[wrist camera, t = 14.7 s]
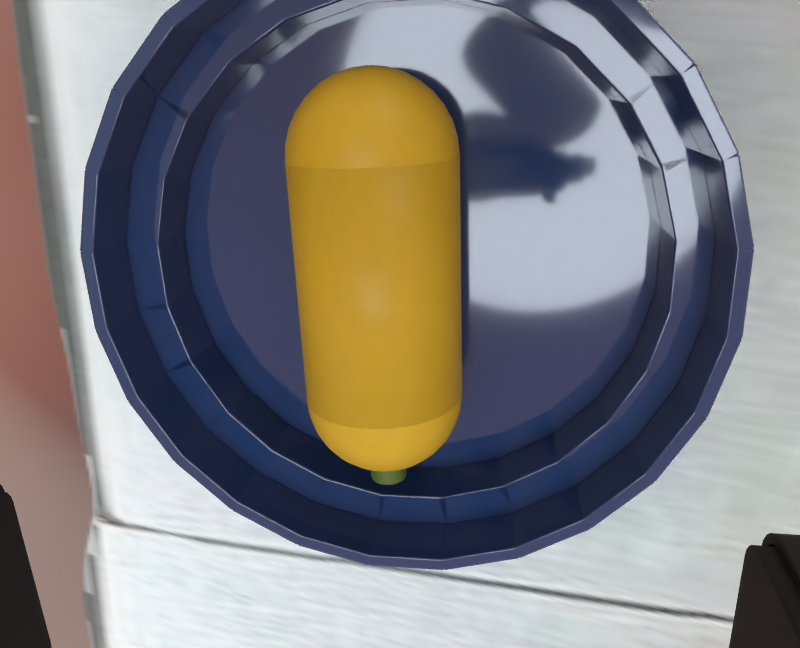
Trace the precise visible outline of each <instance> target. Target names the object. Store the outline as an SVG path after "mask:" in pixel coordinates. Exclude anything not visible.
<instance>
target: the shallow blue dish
mask: <svg viewBox="0 0 800 648" xmlns="http://www.w3.org/2000/svg"><path fill="white" fill-rule="evenodd" d="M364 65H378V66H388V67H391V68H395V69H398V70H402V71H404V72H406V73H408V74H410V75H412V76H414V77H416V78H418V79H419V80H421V81H422V82H423V83H424V84H426V85H427V86H428V87H429V88H431V89H432V90H433V91H434V92H435V94H436V95H437V96H438V97H439V98H440V100H441V101H442V102H443V103H444V105H445V106H446V108H447V110H448V112H449V114H450V116H451V118H452V119H453V122H454V126H455V129H456V132H457V135H458V142H459V151H460V215H461V318H462V400H461V410H460V413H459V416H458V419H457V422H456V425H455V427H454V429H453V431H452V432H451V434H450V436H449V437H448V439H447V440H446V442H445V443H444V444H443V445H442V446H441V447H440V448H439V449H438V450H437V451H436V452H435V453H434V454H433V455H432V456H430V457H429V458H427V459H426V460H424V461H422V462H420V463H418V464H416V465H414V466H412V467H409V468H406V471H407V474H406V477H405V479H404V480H403V481H401V482H399V483H397V484H393V485H382V484H379V483H376V482H375V481H374V480H373V479H372V477H371V470H367V469H363V468H360V467H358V466H355V465H353V464H350V463H348V462H346V461H345V460H343V459H342V458H340V457H339V456H338V455H336V454H335V453H334V452H332V451H331V450H330V449H329V448H328V446H327V445H326V444H325V443H324V442H323V440H322V439H321V438H320V436H319V435H318V433H317V431H316V429H315V427H314V425H313V422H312V420H311V417H310V414H309V409H308V404H307V397H306V386H305V375H304V364H303V353H302V342H301V331H300V321H299V310H298V299H297V288H296V277H295V266H294V255H293V245H292V234H291V223H290V212H289V201H288V190H287V179H286V168H285V143H286V138H287V133H288V128H289V125H290V123H291V120H292V118H293V116H294V113H295V111H296V109H297V108H298V106H299V105H300V103H301V102H302V101H303V99H304V98H305V96H306V95H307V94H308V93H309V92H310V91H311V90H312V89H313V88H314V87H315V86H316V85H317V84H318V83H320V82H321V81H323V80H324V79H326V78H328V77H329V76H331V75H332V74H334V73H337V72H339V71H342V70H345V69H348V68H350V67H357V66H364ZM85 169H86V170H85V178H84V196H83V213H82V230H81V248H80V251H81V258H82V263H83V268H84V273H85V278H86V284H87V289H88V294H89V299H90V304H91V309H92V314H93V319H94V325H95V329H96V332H97V334H98V337H99V339H100V341H101V343H102V345H103V348H104V350H105V352H106V354H107V356H108V358H109V361H110V363H111V365H112V367H113V369H114V372H115V374H116V376H117V378H118V380H119V383H120V385H121V387H122V389H123V391H124V393H125V396H126V398H127V400H129V403H130V404H131V406H132V407H133V408H134V410H135V411H136V412H137V413H138V415H139V416H140V417H141V419H142V420H143V421H144V423H145V424H146V425H147V427H148V428H149V429H150V430H151V432H152V433H153V434H154V436H155V437H156V438H157V440H158V441H159V442H160V444H161V445H162V446H163V447H164V449H165V450H166V451H167V453H168V454H169V455H170V457H171V458H172V459H173V460H174V461H175V462H176V463H177V464H178V465H179V466H180V467H182V468H183V469H184V470H185V471H186V472H187V473H189V474H190V475H191V476H192V477H193V478H195V479H196V480H197V481H198V482H199V483H200V484H202V485H203V486H204V487H205V488H206V489H208V490H209V491H210V492H211V493H212V494H214V495H215V496H216V497H217V498H218V499H219V500H221V501H222V502H223V503H224V504H225V505H227V506H228V507H229V508H230V509H233V511H235V512H237V513H239V514H240V515H242V516H244V517H246V518H248V519H250V520H252V521H254V522H255V523H257V524H259V525H261V526H263V527H265V528H267V529H269V530H270V531H272V532H274V533H276V534H278V535H280V536H282V537H284V538H286V539H287V540H289V541H291V542H293V543H295V544H298V545H299V546H303V547H306V548H310V549H313V550H317V551H320V552H324V553H327V554H331V555H334V556H338V557H341V558H345V559H348V560H352V561H355V562H359V563H362V564H366V565H369V564H370V565H372V566H387V567H403V568H419V569H435V570H444V569H445V570H448V569H454V568H460V567H467V566H473V565H479V564H485V563H492V562H498V561H504V560H510V559H517V558H521V557H523V556H526V555H528V554H530V553H533V552H535V551H538V550H540V549H543V548H545V547H548V546H550V545H552V544H555V543H557V542H560V541H562V540H565V539H567V538H569V537H572V536H574V535H577V534H579V533H582V532H584V531H587V530H589V529H590V528H592V527H594V526H595V525H597V524H598V523H599V522H601V521H602V520H603V519H605V518H606V517H608V516H609V515H610V514H612V513H613V512H614V511H616V510H617V509H618V508H620V507H621V506H623V505H624V504H625V503H627V502H628V501H629V500H631V499H632V498H634V497H635V496H636V495H638V494H639V493H640V492H642V491H643V490H644V489H646V488H647V487H649V486H650V485H651V484H653V483H654V481H656V480H657V479H658V478H659V476H660V475H661V474H662V473H663V471H664V470H665V469H666V468H667V466H668V465H669V464H670V463H671V462H672V460H673V459H674V458H675V457H676V455H677V454H678V453H679V452H680V450H681V449H682V448H683V447H684V446H685V444H686V443H687V442H688V441H689V439H690V438H691V437H692V436H693V435H694V433H695V432H696V431H697V430H698V428H699V427H700V426H701V425H702V423H703V422H704V421H705V420H706V417H708V415H709V412H710V410H711V408H712V406H713V403H714V401H715V399H716V396H717V394H718V392H719V390H720V387H721V385H722V383H723V381H724V378H725V376H726V374H727V371H728V369H729V367H730V365H731V362H732V360H733V358H734V355H735V353H736V351H737V349H738V346H739V344H740V342H741V338H742V336H743V328H744V321H745V313H746V306H747V298H748V291H749V283H750V276H751V268H752V261H753V253H754V249H753V247H754V245H753V238H752V232H751V226H750V219H749V213H748V207H747V200H746V194H745V188H744V181H743V175H742V169H741V162H740V156H739V154H738V150H737V148H736V146H735V144H734V142H733V140H732V138H731V136H730V134H729V131H728V129H727V127H726V125H725V123H724V121H723V119H722V117H721V115H720V113H719V111H718V109H717V107H716V105H715V103H714V100H713V98H712V96H711V94H710V92H709V90H708V88H707V86H706V84H705V82H704V80H703V78H702V76H701V74H700V72H699V69H698V67H697V65H696V64H694V61H693V60H692V59H691V58H690V57H689V56H688V55H687V54H686V53H685V52H684V50H683V49H682V48H681V47H680V46H679V45H678V44H677V43H676V42H675V41H674V40H673V39H672V38H671V36H670V35H669V34H668V33H667V32H666V31H665V30H664V29H663V28H662V27H661V26H660V25H659V24H658V22H657V21H656V20H655V19H654V18H653V17H652V16H651V15H650V14H649V13H648V12H647V11H646V9H645V8H644V7H643V6H642V5H641V4H640V3H639V2H638V1H637V0H180V1H179V2H177V3H176V4H175V5H174V6H172V7H171V8H170V9H169V10H167V11H166V12H165V13H164V15H162V16H161V18H160V19H159V21H158V22H157V24H156V25H155V27H154V28H153V30H152V31H151V32H150V34H149V35H148V37H147V38H146V40H145V41H144V43H143V44H142V46H141V47H140V48H139V50H138V51H137V53H136V54H135V56H134V57H133V59H132V60H131V61H130V63H129V64H128V66H127V67H126V69H125V70H124V72H123V73H122V75H121V76H120V77H119V79H118V80H117V82H116V83H115V85H114V86H113V88H112V90H111V93H110V96H109V99H108V102H107V105H106V108H105V111H104V114H103V117H102V120H101V123H100V126H99V129H98V132H97V135H96V138H95V141H94V144H93V147H92V150H91V153H90V156H89V159H88V162H87V165H86V168H85Z"/></svg>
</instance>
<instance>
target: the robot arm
mask: <svg viewBox="0 0 800 648" xmlns="http://www.w3.org/2000/svg"><path fill="white" fill-rule="evenodd" d="M0 648H51V642H50V638H49V634H48V631H47V627H46V623H45V620H44V615H43V612H42V608H41V604H40V600H39V597H38V593H37V589H36V585H35V582H34V578H33V574H32V571H31V567H30V563H29V559H28V556H27V552H26V548H25V545H24V541H23V537H22V533H21V529H20V526H19V522H18V518H17V515H16V511H15V507H14V503H13V500H12V498H11V496H10V495H9V494H8V493H6V492H4V489H3V487H2V486H1V485H0ZM729 648H800V535H790V534H775V533H770V534H767V535H766V537H765V538H764V540H763V543H762V546H758V545H750V546H749V547H748V548H747V550H746V554H745V558H744V564H743V570H742V575H741V581H740V587H739V593H738V599H737V605H736V610H735V616H734V622H733V628H732V634H731V639H730V645H729Z"/></svg>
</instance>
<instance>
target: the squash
mask: <svg viewBox="0 0 800 648" xmlns="http://www.w3.org/2000/svg"><path fill="white" fill-rule="evenodd" d="M285 168H286V179H287V190H288V201H289V212H290V223H291V234H292V245H293V255H294V266H295V277H296V288H297V299H298V310H299V321H300V331H301V342H302V353H303V364H304V375H305V386H306V397H307V404H308V409H309V414H310V417H311V420H312V422H313V425H314V427H315V429H316V431H317V433H318V435H319V436H320V438H321V439H322V440H323V442H324V443H325V444H326V445H327V446H328V448H329V449H330V450H331V451H332V452H334V453H335V454H336V455H338V456H339V457H340V458H342V459H343V460H345V461H346V462H348V463H350V464H353V465H355V466H358V467H360V468H363V469H367V470H371V477H372V479H373V480H374V481H375V482H376V483H379V484H382V485H393V484H397V483H399V482H401V481H403V480H404V479H405V477H406V474H407V471H406V468H409V467H412V466H414V465H416V464H418V463H420V462H422V461H424V460H426V459H427V458H429V457H430V456H432V455H433V454H434V453H435V452H436V451H437V450H438V449H439V448H440V447H441V446H442V445H443V444H444V443H445V442H446V440H447V439H448V437H449V436H450V434H451V432H452V431H453V429H454V427H455V425H456V422H457V419H458V416H459V413H460V410H461V400H462V318H461V215H460V151H459V142H458V135H457V132H456V129H455V126H454V122H453V119H452V118H451V116H450V114H449V112H448V110H447V108H446V106H445V105H444V103H443V102H442V101H441V100H440V98H439V97H438V96H437V95H436V94H435V92H434V91H433V90H432V89H431V88H429V87H428V86H427V85H426V84H424V83H423V82H422V81H421V80H419V79H418V78H416V77H414V76H412V75H410V74H408V73H406V72H404V71H402V70H398V69H395V68H391V67H388V66H378V65H364V66H357V67H350V68H348V69H345V70H342V71H339V72H337V73H334V74H332V75H331V76H329V77H328V78H326V79H324V80H323V81H321V82H320V83H318V84H317V85H316V86H315V87H314V88H313V89H312V90H311V91H310V92H309V93H308V94H307V95H306V96H305V98H304V99H303V101H302V102H301V103H300V105H299V106H298V108H297V109H296V111H295V113H294V116H293V118H292V120H291V123H290V125H289V128H288V133H287V138H286V143H285Z"/></svg>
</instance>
